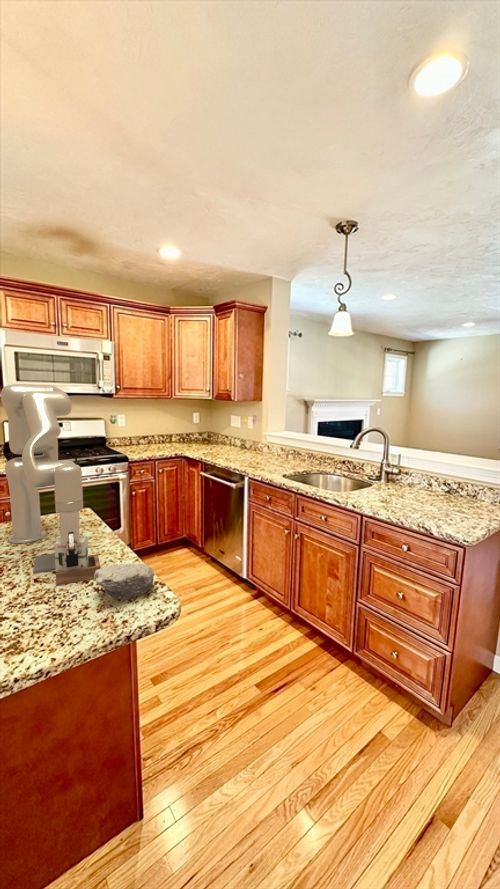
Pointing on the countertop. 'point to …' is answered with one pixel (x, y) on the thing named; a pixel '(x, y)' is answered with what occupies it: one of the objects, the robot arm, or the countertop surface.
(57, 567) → the ink box
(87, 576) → the cradle
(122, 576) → the rock
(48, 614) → the countertop surface
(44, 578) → the countertop surface
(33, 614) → the countertop surface
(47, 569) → the mat
